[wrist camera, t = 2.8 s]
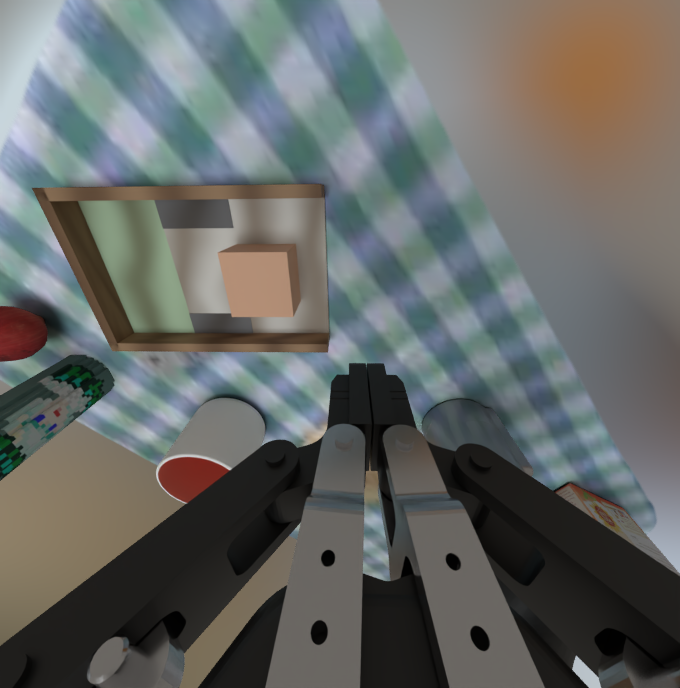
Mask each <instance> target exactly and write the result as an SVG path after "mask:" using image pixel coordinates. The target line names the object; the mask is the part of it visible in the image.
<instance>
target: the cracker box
mask: <svg viewBox="0 0 680 688" xmlns="http://www.w3.org/2000/svg"><path fill="white" fill-rule="evenodd" d="M555 493H556V494H558V495H559V496H561V497H562V498H564V499H565V500H567V501H568V502H570V503H571V504H573V505H574V506H576V507H577V508H579V509H580V510H582V511H583V512H585V513H586V514H588V515H589V516H591V517H592V518H594V519H595V520H597V521H598V522H600V523H601V524H603V525H604V526H606V527H607V528H609V529H610V530H612V531H613V532H615V533H616V534H618V535H619V536H621V537H622V538H624V539H625V540H627V541H628V542H629V543H631V544H632V545H634V546H635V547H637V548H638V549H640V550H641V551H643V552H644V553H646V554H647V555H649V556H650V557H652V558H653V559H655V560H656V561H658V562H659V563H661V564H662V565H664V566H665V567H667V568H668V569H670V570H671V571H673V572H674V573H676V574H677V575H679V576H680V573H679V572H677V570H676V569H675V568H674V567H673V565H672V564H671V563H670V562H669V561H668V560H667V558H666V557H665V556H664V555H663V554H662V553H661V551H660V550H659V549H658V548H657V547H656V546H655V544H654V543H653V542H652V541H651V540H650V539H649V538H648V537H647V535H646V534H645V533H644V532H643V531H642V529H641V528H640V527H639V526H638V525H637V524H636V523H635V521H634V520H633V519H632V518H631V517H630V516H629V514H628V513H627V512H626V511H625V510H624V509H623V508H622V507H620V506H618V505H615V504H613V503H611V502H609V501H607V500H605V499H603V498H601V497H598V496H596V495H594V494H592V493H590V492H588V491H586V490H584V489H582V488H579V487H577V486H575V485H573V484H571V483H569V484H567V485H566V486H564V487H562V488H561V489H559V490H557V491H555Z"/></svg>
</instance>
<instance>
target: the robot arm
mask: <svg viewBox="0 0 680 688" xmlns="http://www.w3.org/2000/svg"><path fill="white" fill-rule="evenodd" d="M422 431H423V434H424V436H423V434H422V433H421V432H420V431H418V430H417V428H416V424H415V421H414V418H413V414H412V411H411V407H410V404H409V401H408V397H407V394H406V390H405V387H404V383H403V382H402V381H401V380H400V379H399V378H398V376H397V375H386V371H385V366H384V364H381V363H367V367H366V363H349V375H336V377H335V378H334V379H333V381H332V383H331V394H330V405H329V416H328V426H327V430H326V432H325V434H324V435H323V437H322V438H321V439H319V440H318V441H316V442H315V443H313V444H310V445H306V446H303V447H299V448H297V447H296V446H295V445H294V444H293V443H291V442H289V441H287V440H274V441H270V442H268V443H266V444H264V445H263V446H261V447H260V448H259V449H257V450H256V451H255V452H253V453H252V454H251V455H249V456H248V457H247V458H246V459H244V460H243V461H242V462H240V463H239V464H238V465H236V466H235V467H234V468H232V469H231V470H230V471H229V472H227V473H226V474H225V475H223V476H222V477H221V478H219V479H218V480H217V481H215V482H214V483H213V484H212V485H210V486H209V487H208V488H206V489H205V490H204V491H202V492H201V493H200V494H198V495H197V496H196V497H195V498H193V499H192V500H191V501H189V502H188V503H187V504H185V505H184V506H183V507H181V508H180V509H179V510H178V511H176V512H175V513H174V514H172V515H171V516H170V517H168V518H167V519H166V520H164V521H163V522H162V523H160V524H159V525H158V526H157V527H155V528H154V529H153V530H151V531H150V532H149V533H148V534H146V535H145V536H144V537H142V538H141V539H140V540H138V541H137V542H136V543H134V544H133V545H132V546H130V547H129V548H128V549H126V550H125V551H124V552H123V553H121V554H120V555H119V556H117V557H116V558H115V559H114V560H112V561H111V562H110V563H108V564H107V565H106V566H104V567H103V568H102V569H100V570H99V571H98V572H96V573H95V574H94V575H92V576H91V577H90V578H89V579H87V580H86V581H85V582H83V583H82V584H81V585H79V586H78V587H77V588H75V589H74V590H73V591H71V592H70V593H69V594H68V595H66V596H65V597H64V598H62V599H61V600H60V601H58V602H57V603H56V604H55V605H53V606H52V607H51V608H49V609H48V610H47V611H45V612H44V613H43V614H41V615H40V616H39V617H37V618H36V619H35V620H34V621H32V622H31V623H30V624H28V625H27V626H26V627H25V628H23V629H22V630H20V631H19V632H18V633H17V634H15V635H14V636H13V637H11V638H10V639H9V640H7V641H6V642H5V643H4V644H3V645H1V646H0V688H179V686H180V684H181V680H182V676H183V672H184V653H185V652H186V651H187V649H188V648H189V647H190V646H191V645H192V644H193V643H194V642H195V640H196V639H197V638H198V637H199V636H200V635H201V634H202V633H203V632H204V630H205V629H206V628H207V627H208V626H209V625H210V624H211V623H212V621H213V620H214V619H215V618H216V617H217V616H218V614H220V612H221V611H222V610H223V609H224V608H225V607H226V606H227V605H228V603H229V602H230V601H231V600H232V599H233V598H234V597H235V596H236V594H237V593H238V592H239V591H240V590H241V589H242V587H243V586H244V585H245V584H246V583H247V582H248V581H249V579H251V577H252V576H253V575H254V574H255V573H256V572H257V571H258V570H259V569H260V567H261V566H262V565H263V564H264V563H265V562H266V561H267V560H268V558H269V557H270V556H271V555H272V554H273V553H274V552H275V551H276V549H277V548H278V547H279V546H280V545H281V544H282V543H283V541H284V540H285V539H286V538H287V537H288V536H289V535H290V534H291V533H292V531H293V530H294V529H295V528H296V527H297V526H298V525H299V524H300V522H301V524H300V529H299V534H298V538H297V543H296V548H295V553H294V557H293V562H292V566H291V571H290V576H289V580H288V585H287V586H285V587H284V588H282V589H281V590H279V591H277V592H276V593H275V594H274V595H272V596H271V597H270V598H269V599H268V600H267V601H266V602H265V603H264V604H263V605H262V606H261V607H260V608H259V609H258V610H257V611H256V613H255V614H254V615H253V616H252V617H251V619H250V620H249V621H248V623H247V624H246V625H245V627H244V628H243V630H242V631H241V632H240V633H239V635H238V636H237V637H236V638H235V640H234V641H233V643H232V644H231V645H230V647H229V648H228V649H227V650H226V652H225V653H224V654H223V655H222V657H221V658H220V659H219V661H218V662H217V663H216V665H215V666H214V667H213V669H212V670H211V671H210V673H209V674H208V675H207V677H206V678H205V679H204V680H203V682H202V683H201V684H200V686H199V687H198V688H589V687H588V686H587V685H586V684H585V683H584V682H583V681H582V680H581V679H580V678H579V677H578V676H577V675H576V674H575V672H574V671H573V670H572V667H573V663H574V660H575V656H576V655H577V656H578V657H579V658H580V659H581V660H582V661H583V662H584V663H585V664H586V665H587V666H588V667H589V668H590V669H591V670H592V671H593V672H594V673H595V674H596V675H597V676H598V677H599V681H600V684H601V688H680V576H679V575H677V574H676V573H674V572H673V571H671V570H670V569H668V568H667V567H665V566H664V565H662V564H661V563H659V562H658V561H656V560H655V559H653V558H652V557H650V556H649V555H647V554H646V553H644V552H643V551H641V550H640V549H638V548H637V547H635V546H634V545H632V544H631V543H629V542H628V541H627V540H625V539H624V538H622V537H621V536H619V535H618V534H616V533H615V532H613V531H612V530H610V529H609V528H607V527H606V526H604V525H603V524H601V523H600V522H598V521H597V520H595V519H594V518H592V517H591V516H589V515H588V514H586V513H585V512H583V511H582V510H580V509H579V508H577V507H576V506H574V505H573V504H571V503H570V502H568V501H567V500H565V499H564V498H562V497H561V496H559V495H558V494H556V493H555V492H553V491H552V490H550V489H549V488H547V487H546V486H544V485H543V484H541V483H540V482H538V481H537V480H535V479H534V478H533V477H532V475H533V468H532V466H531V465H530V464H529V462H528V461H527V459H526V458H525V456H524V455H523V453H522V452H521V450H520V449H519V447H518V446H517V444H516V443H515V441H514V440H513V438H512V437H511V435H510V434H509V432H508V431H507V429H506V428H505V426H504V425H503V423H502V422H501V421H500V419H499V418H498V416H497V415H496V413H495V412H494V410H493V409H492V408H484V407H483V406H481V405H480V404H479V403H476V402H474V401H470V400H462V399H458V400H451V401H447V402H444V403H442V404H440V405H437V406H436V407H434V408H433V409H432V410H430V411H429V412H428V413H427V415H426V416H425V418H424V420H423V423H422ZM369 461H370V466H371V471H378V479H379V484H378V496H379V502H380V507H381V513H382V519H383V524H384V530H385V536H386V541H387V547H388V554H389V571H390V581H383V580H380V579H377V578H374V577H372V576H369V575H366V574H363V537H364V488H365V477H366V471H369Z"/></svg>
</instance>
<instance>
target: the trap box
mask: <svg viewBox="0 0 680 688" xmlns="http://www.w3.org/2000/svg"><path fill="white" fill-rule="evenodd" d="M32 189H33V191H34V193H35V195H36V197H37V199H38V201H39V204H40V206H41V208H42V210H43V212H44V214H45V216H46V218H47V220H48V222H49V224H50V226H51V228H52V230H53V232H54V234H55V236H56V238H57V240H58V242H59V244H60V246H61V248H62V250H63V252H64V254H65V256H66V258H67V260H68V262H69V264H70V266H71V268H72V270H73V272H74V274H75V276H76V278H77V280H78V282H79V284H80V286H81V289H82V291H83V293H84V295H85V297H86V299H87V301H88V303H89V305H90V307H91V309H92V311H93V313H94V315H95V317H96V319H97V321H98V323H99V325H100V327H101V329H102V331H103V333H104V335H105V337H106V339H107V341H108V343H109V345H110V347H111V349H112V351H180V352H328V346H329V313H328V284H327V254H326V225H325V196H324V185H322V184H288V185H215V186H141V187H68V188H32ZM236 244H296V250H297V262H298V274H299V285H300V297H301V302H300V304H299V306H298V308H297V311H296V313H295V315H294V317H232V315H231V311H230V306H229V302H228V298H227V293H226V289H225V284H224V280H223V275H222V271H221V266H220V262H219V258H218V253H217V252H220V251H222V250H224V249H227V248H229V247H231V246H234V245H236Z"/></svg>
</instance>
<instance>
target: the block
mask: <svg viewBox="0 0 680 688" xmlns="http://www.w3.org/2000/svg"><path fill="white" fill-rule="evenodd" d="M217 253H218V258H219V262H220V266H221V271H222V275H223V280H224V284H225V289H226V293H227V298H228V302H229V306H230V311H231V315H232V317H294V315H295V313H296V311H297V308H298V306H299V304H300V302H301V297H300V285H299V274H298V262H297V250H296V244H236V245H234V246H231V247H229V248H227V249H224V250H222V251H220V252H217Z"/></svg>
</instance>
